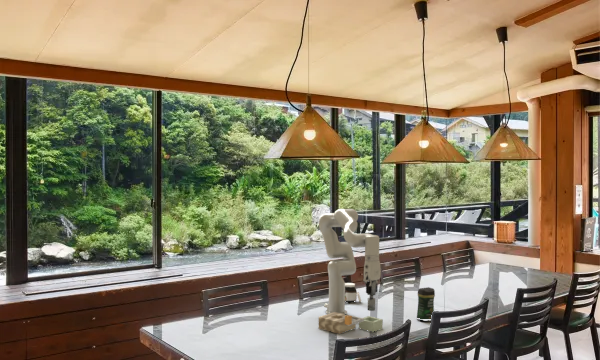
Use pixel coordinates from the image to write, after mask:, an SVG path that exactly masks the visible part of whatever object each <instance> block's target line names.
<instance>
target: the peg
mask: <svg viewBox="0 0 600 360" xmlns="http://www.w3.org/2000/svg"><path fill="white" fill-rule="evenodd" d="M368 280H369V279H368ZM368 282H369V281H368ZM371 286H372V293H371V294H369V293H366V294H367V295H368V296H369V297H368V298H367V311H371V312H374V311H376V298H375V297H374V296H376V293H377V292H376V280H374V281H372V282H371Z"/></svg>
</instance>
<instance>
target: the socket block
mask: <svg viewBox="0 0 600 360" xmlns="http://www.w3.org/2000/svg"><path fill="white" fill-rule="evenodd" d="M347 315H348V314H346V315H345V314H341V313H337V312H334V313H330V314H327V313H326V314H324V315H320V316H318V329H320V330H323V331H327V332H330V331H331V332H332V333H334V334H337V333H338V335H341V334H344V333H346V332H345V331H347V332H349V331H348V330H350V331H352V330H355V329H356V324H354V325H351V326H347V325H346V324H345V320H342V317H345V316H347ZM354 328H355V329H354ZM351 329H352V330H351ZM331 332H330V333H331ZM343 332H344V333H343Z"/></svg>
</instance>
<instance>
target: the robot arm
mask: <svg viewBox="0 0 600 360" xmlns="http://www.w3.org/2000/svg"><path fill="white" fill-rule="evenodd" d="M358 220H359V214H358V211H357V210H355V209H354V208H339V209H337V210H335V211H334V212H329V213H328V212H327V213H324V214H321V215H320V217H319V219H318V227H319V231H320V233H321V236H322V237H323V238H322V239H323V240H324V242H323V243H324V246H325V251H326V254H327V256H328V258H330V259H334V260H330V261H329V262H328V263H327V272H328V303H325V304H324V305H323V307H324V308H326V310H325V313H326V315H327V314H330V313H334V312H337V313H341V314H346V315H348V310H346V309H345V306H346V302H345V283H346V282H345V279H344V278H343V277H342V276H344V277H345V276H351V275H354V274H355V273H356V271H357V264H356V259H355V256H354V252H353V248H364V265H363V281H362V282H363V283H364V284H365V293H366V294H367V293H369V294H371V293H372V286H371V282H372V281H374V280H376V293H377V292H378V284H379V283H378V282H379V280H380V279H381V275H382V274H381V273H382V272H381V262H380V236H379V235H378V234H377V235H376V234H371V233H367V232H366V233H355V231H356V230H357V229H358V222H357V221H358ZM333 228H341V229H342V230H343V238H344V240H345V241H341V242H340V241H339V239H338V238H339V237H338V234H337V233H336V231H335V230H334V229H333ZM368 279H369V280H368ZM368 281H369V282H368Z"/></svg>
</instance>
